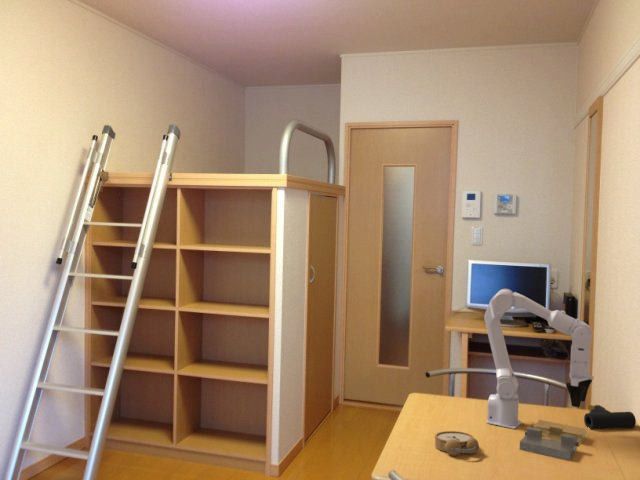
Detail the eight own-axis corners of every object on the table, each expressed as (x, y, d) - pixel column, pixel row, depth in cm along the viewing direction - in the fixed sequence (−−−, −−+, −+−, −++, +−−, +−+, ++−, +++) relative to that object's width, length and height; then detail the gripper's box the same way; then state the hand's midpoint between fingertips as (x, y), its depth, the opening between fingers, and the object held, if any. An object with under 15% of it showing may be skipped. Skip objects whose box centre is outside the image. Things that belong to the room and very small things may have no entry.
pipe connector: (573, 404, 208) (614, 402, 211) (572, 419, 209) (613, 417, 211) (593, 415, 197) (636, 414, 199) (592, 432, 197) (635, 430, 200)
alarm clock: (462, 429, 188) (486, 438, 174) (463, 446, 188) (487, 456, 173) (428, 432, 186) (449, 441, 171) (429, 449, 185) (450, 459, 171)
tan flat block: (531, 436, 191) (532, 422, 191) (539, 428, 199) (539, 415, 198) (579, 446, 183) (580, 432, 183) (585, 437, 191) (586, 424, 191)
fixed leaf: (517, 448, 181) (517, 434, 181) (526, 439, 188) (526, 426, 188) (572, 461, 172) (572, 446, 172) (578, 451, 180) (579, 437, 179)
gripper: (589, 367, 185) (587, 412, 186) (598, 358, 197) (596, 400, 198) (564, 363, 189) (562, 407, 190) (575, 355, 201) (573, 396, 202)
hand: (578, 403), depth 194 cm, fingers open, 7 cm apart
